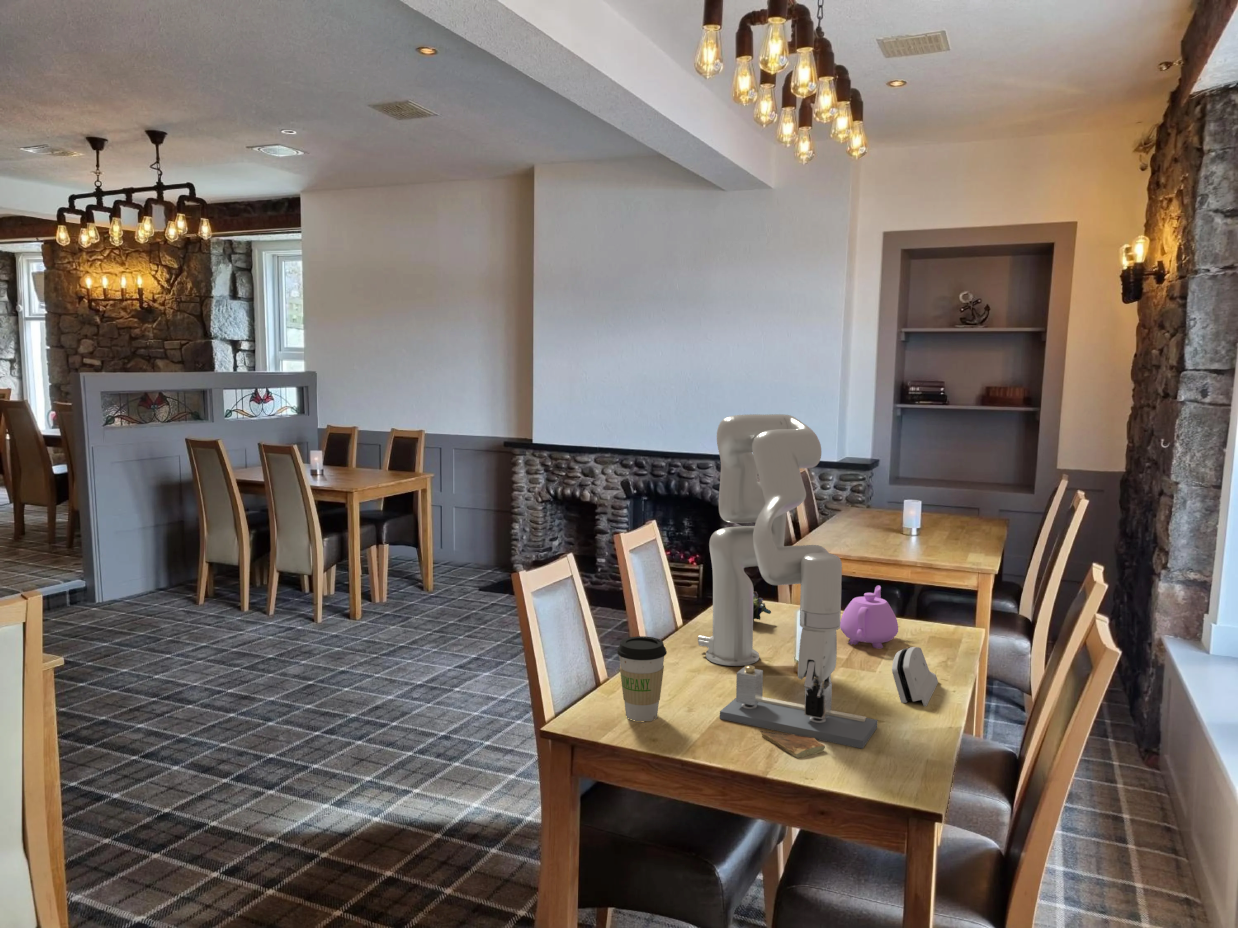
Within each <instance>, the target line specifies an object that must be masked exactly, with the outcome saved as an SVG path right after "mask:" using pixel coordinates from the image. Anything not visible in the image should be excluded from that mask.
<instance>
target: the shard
mask: <svg viewBox="0 0 1238 928" xmlns="http://www.w3.org/2000/svg"><path fill="white" fill-rule="evenodd" d="M759 733H761V737H762V738H764V740H766V741H768V740H769V741H768V742H771V743H772V744H774V745H776V746H777V747H780V748H781V749H783V750H784V751H786V752H787V753H789V755H791V756H792V757H793V758H796V759H799V758H802V757H806V756H810V755H815V754H821V753H823V751H824V750H825V749H826V746H825V744H823V743H822V742H820V741H819V740H818V739H815V738H813V737H807V736H800V735H795V734H790V733H785V732H770V731H762V730H759Z"/></svg>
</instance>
